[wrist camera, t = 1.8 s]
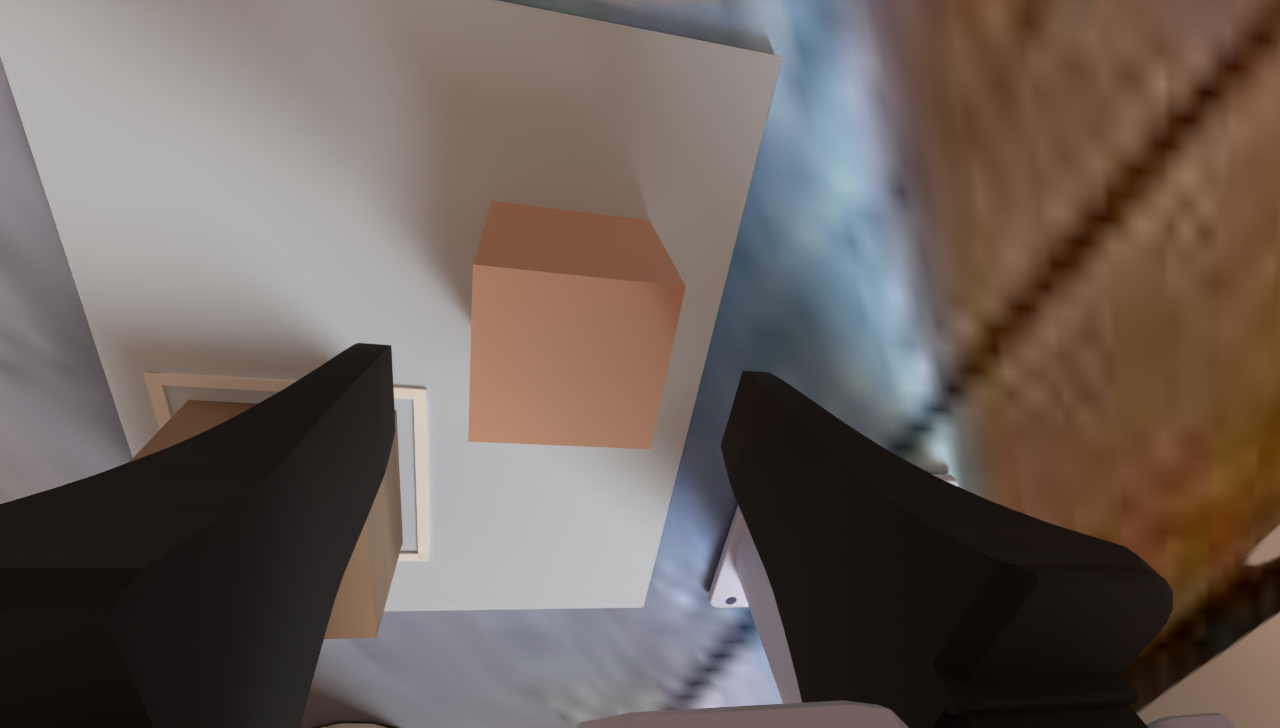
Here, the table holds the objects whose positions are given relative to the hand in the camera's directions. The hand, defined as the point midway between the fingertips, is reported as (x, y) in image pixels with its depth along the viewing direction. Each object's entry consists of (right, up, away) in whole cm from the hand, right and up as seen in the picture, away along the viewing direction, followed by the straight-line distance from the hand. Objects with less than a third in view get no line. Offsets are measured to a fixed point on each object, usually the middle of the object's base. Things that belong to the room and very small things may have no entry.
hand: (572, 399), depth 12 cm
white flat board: (-5, 0, +7) cm, 9 cm away
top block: (-1, +3, +6) cm, 6 cm away
